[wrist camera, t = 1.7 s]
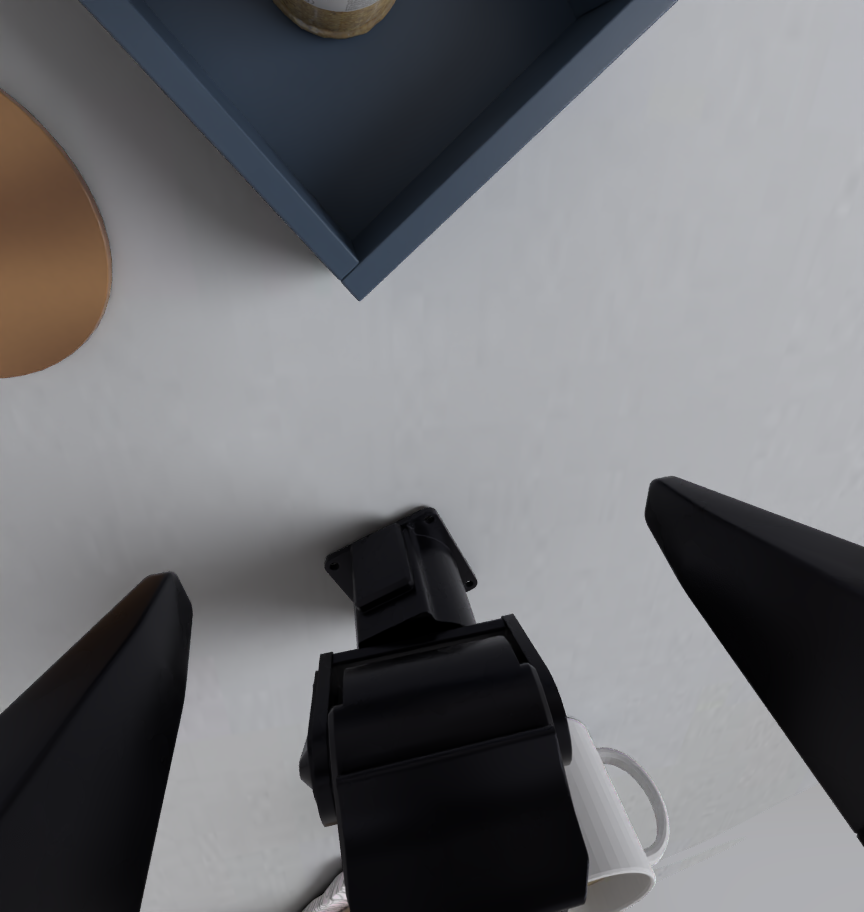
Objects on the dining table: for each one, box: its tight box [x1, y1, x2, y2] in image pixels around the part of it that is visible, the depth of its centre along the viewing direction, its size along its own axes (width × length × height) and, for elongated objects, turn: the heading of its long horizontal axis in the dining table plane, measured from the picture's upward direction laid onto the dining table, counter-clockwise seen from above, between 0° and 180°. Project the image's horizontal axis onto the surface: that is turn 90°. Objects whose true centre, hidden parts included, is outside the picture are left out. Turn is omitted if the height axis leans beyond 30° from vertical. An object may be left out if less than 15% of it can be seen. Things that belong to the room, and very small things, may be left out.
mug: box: [564, 718, 670, 912], centre depth 36 cm, size 11×10×10 cm
